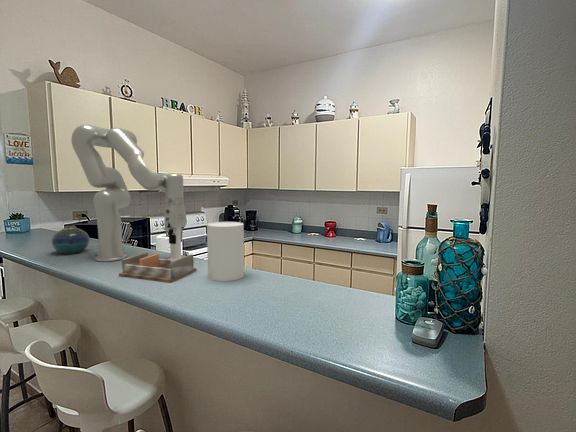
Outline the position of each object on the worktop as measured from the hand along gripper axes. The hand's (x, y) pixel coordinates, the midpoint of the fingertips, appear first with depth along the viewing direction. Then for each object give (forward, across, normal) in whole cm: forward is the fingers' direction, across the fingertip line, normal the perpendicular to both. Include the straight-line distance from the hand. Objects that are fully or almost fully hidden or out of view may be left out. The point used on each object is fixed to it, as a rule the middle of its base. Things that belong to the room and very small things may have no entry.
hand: (175, 242), depth 142 cm
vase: (+9, -4, +58) cm, 59 cm away
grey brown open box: (+8, -19, -6) cm, 22 cm away
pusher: (+7, -19, -2) cm, 20 cm away
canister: (+8, -13, -32) cm, 36 cm away
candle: (+8, 0, 0) cm, 8 cm away
